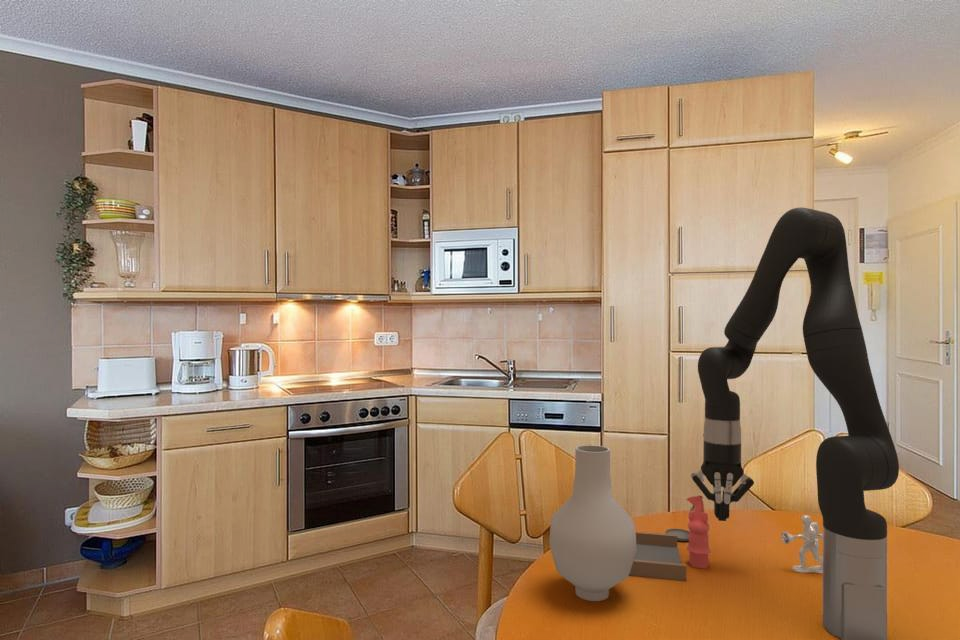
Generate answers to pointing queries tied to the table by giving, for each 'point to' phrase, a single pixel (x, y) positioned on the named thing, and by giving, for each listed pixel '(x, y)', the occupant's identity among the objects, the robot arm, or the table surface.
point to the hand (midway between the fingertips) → (721, 519)
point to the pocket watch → (680, 532)
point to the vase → (592, 529)
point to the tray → (657, 557)
